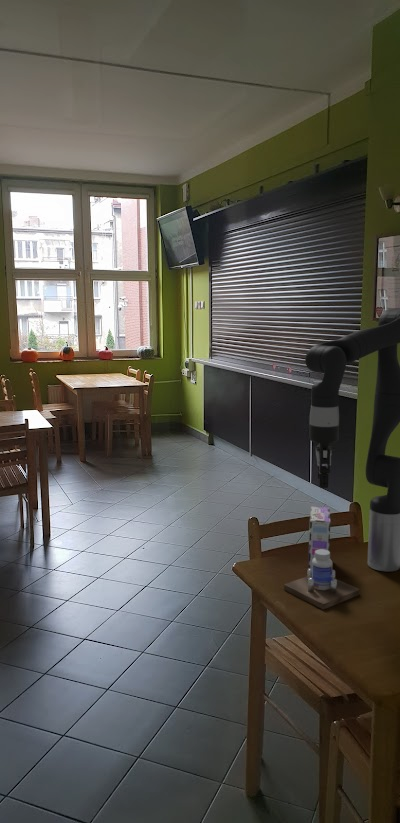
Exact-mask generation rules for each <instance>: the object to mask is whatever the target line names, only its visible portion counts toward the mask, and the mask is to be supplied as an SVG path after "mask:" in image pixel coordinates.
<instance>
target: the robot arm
mask: <svg viewBox="0 0 400 823" xmlns="http://www.w3.org/2000/svg"><path fill="white" fill-rule="evenodd" d="M399 344H400V308H388V309H385V310H383V311H382V312H381V314H380V316H379V320H378V325H377V326H373V327H370V328H364V329H360V330H357V331H354V332H352V333H350V334H347V335H344V336H343V337H341V338H338V339H334V340H329V341H325V342H322V343H321V342H320V343H318V344H316V345H313V346H312V347H310V349H309V350H308V351H307V352H306V355H305V360H304V362H305V365H306V367H307V368H308V370H310V371H311V372H313V373H316V374H317V373H318V374H323V378H322V380H321V381H320V382H315V383H314V384H313V385H312V386H311V389H310V410H309V411H310V412H309V430H308V431H309V433H308V436H309V440H310V441H311V442H313V443H317V446H315V460H316V463H317V479H318V480H319V484H318V485H319V488H320V489H327V488H329V474H330V473H331V465H332V451H333V450H332V446H330V444H332V443H336V442H338V441H339V438H340V435H339V433H340V432H339V431H340V430H339V429H340V411H339V408H340V407H339V401H340V400H339V396H340V393H339V392H340V388H341V384H342V382H343V378H344V375H345V371H346V367H347V364H350V363H353V362H355V361H358V360H360V359H362V358H364V357H366V356H368V355H371V354H373V353H375V352H377V368H376V369H377V370H376V383H375V389H374V390H375V391H374V398H373V399H374V400H373V415H372V416H373V417H372V424H371V425H372V426H371V436H370V442H369V446H368V451H367V457H366V463H365V478H366V481H367V482H368V484H371V485H373V486H378V487H381V488H387V492H386V494H384V495H378V496H375V497H372V498H371V500H370V501H369V518H368V520H369V523H368V539H367V540H368V543H367V544H368V545H367V562H366V564H367V566H368V567H370V568H371V569H373V570H376V571H379V572H396V571H398V570H400V457H398V456H391V455H389V454H388V455H386V448H387V444H388V442H389V441H388V440H389V438H390V437H391V435H392V433H393V432H394V431H395V429H396V428H397V427H398V425H399V424H400V362H399V359H398V345H399Z"/></svg>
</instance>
